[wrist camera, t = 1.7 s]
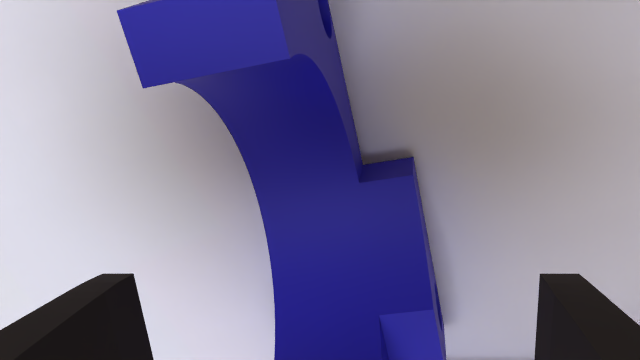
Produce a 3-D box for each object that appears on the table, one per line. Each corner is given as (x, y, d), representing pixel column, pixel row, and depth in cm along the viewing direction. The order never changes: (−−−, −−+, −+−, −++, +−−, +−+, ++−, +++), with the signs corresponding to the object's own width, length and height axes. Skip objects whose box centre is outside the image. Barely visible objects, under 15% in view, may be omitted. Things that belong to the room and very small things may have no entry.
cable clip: (443, 323, 20) (454, 474, 15) (312, 335, 21) (276, 482, 16) (374, -59, 16) (353, -45, 10) (213, -20, 17) (116, 10, 11)
